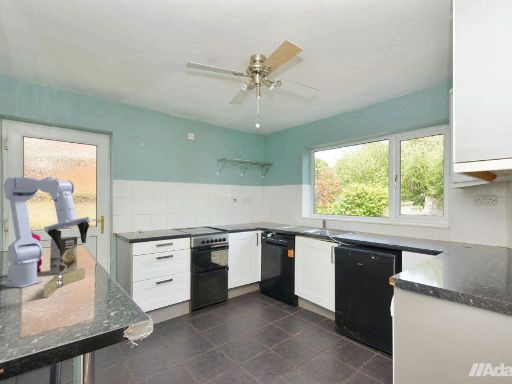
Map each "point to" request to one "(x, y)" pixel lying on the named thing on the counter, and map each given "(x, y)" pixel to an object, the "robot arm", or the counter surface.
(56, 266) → the coffee box
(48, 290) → the swing leaf
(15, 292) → the counter surface
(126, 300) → the counter surface
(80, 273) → the hinge base
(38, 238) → the pepper mill
